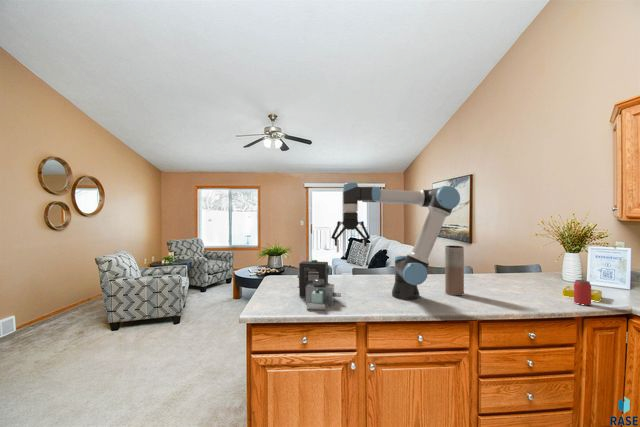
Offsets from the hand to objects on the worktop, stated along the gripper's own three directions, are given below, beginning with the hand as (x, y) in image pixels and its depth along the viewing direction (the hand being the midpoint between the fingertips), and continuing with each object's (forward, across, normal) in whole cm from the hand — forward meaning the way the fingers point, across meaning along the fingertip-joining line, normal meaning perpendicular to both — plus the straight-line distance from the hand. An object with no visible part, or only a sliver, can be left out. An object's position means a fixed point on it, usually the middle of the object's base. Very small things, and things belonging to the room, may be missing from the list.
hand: (350, 252), depth 152 cm
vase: (+27, -59, -28) cm, 71 cm away
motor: (+27, +14, +6) cm, 31 cm away
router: (+27, +22, -11) cm, 37 cm away
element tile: (+27, -127, -32) cm, 134 cm away
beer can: (+27, -118, -18) cm, 123 cm away
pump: (+26, +16, +10) cm, 32 cm away
